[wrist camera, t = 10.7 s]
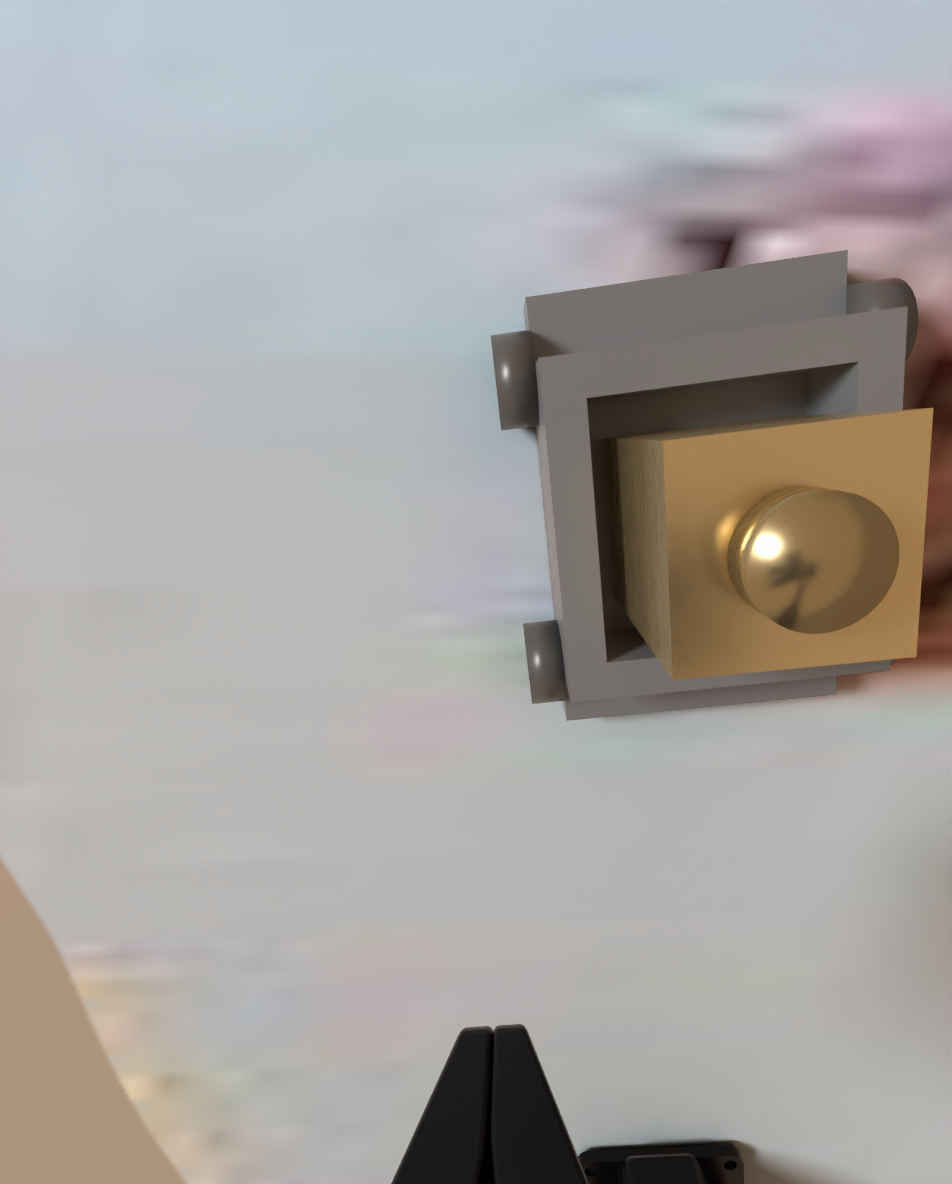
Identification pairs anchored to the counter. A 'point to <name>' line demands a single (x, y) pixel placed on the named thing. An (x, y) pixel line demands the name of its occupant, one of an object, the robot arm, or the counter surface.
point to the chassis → (668, 402)
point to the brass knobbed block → (772, 540)
